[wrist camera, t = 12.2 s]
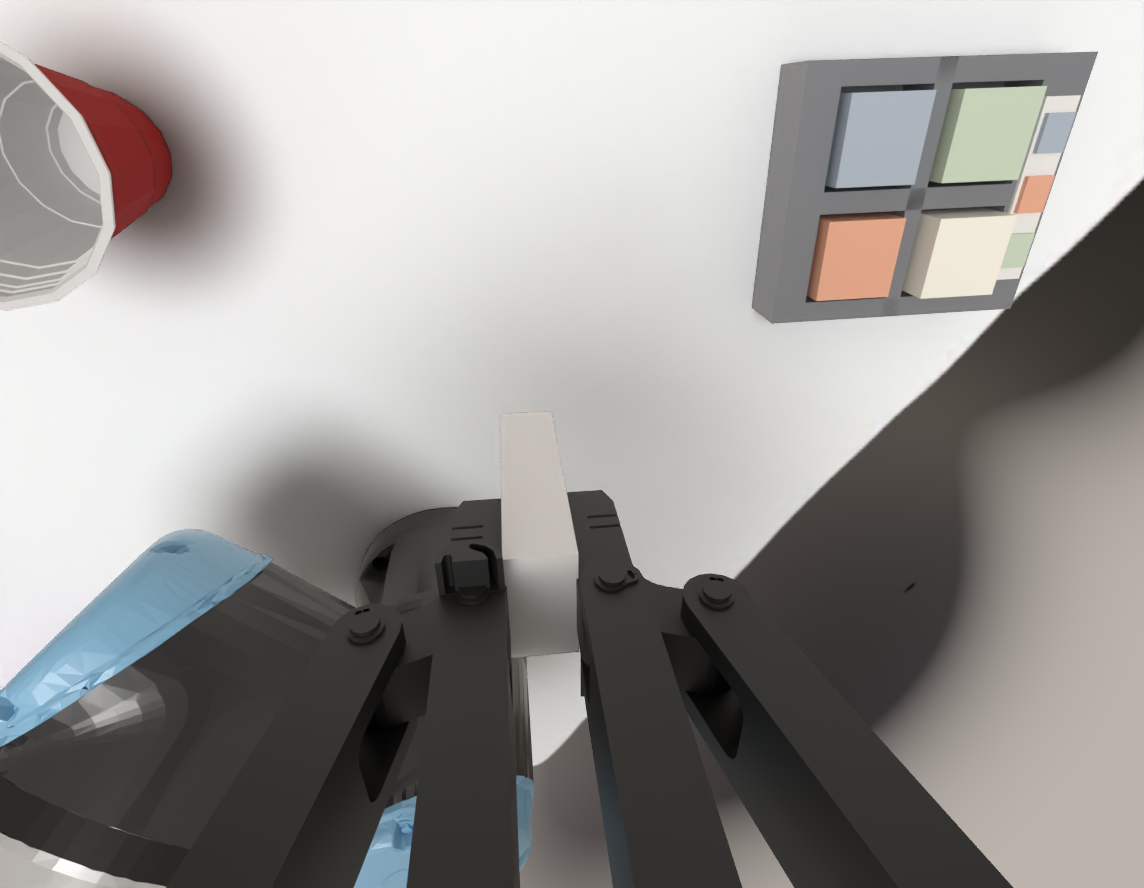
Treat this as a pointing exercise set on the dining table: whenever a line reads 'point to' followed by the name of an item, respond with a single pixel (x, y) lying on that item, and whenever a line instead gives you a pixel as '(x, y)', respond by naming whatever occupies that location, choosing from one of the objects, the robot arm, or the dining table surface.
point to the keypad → (805, 197)
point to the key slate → (879, 138)
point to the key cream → (957, 252)
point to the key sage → (986, 134)
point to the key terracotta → (855, 255)
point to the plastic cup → (67, 178)
